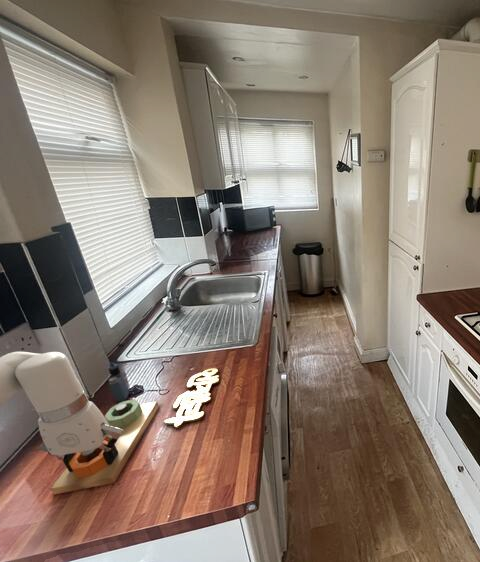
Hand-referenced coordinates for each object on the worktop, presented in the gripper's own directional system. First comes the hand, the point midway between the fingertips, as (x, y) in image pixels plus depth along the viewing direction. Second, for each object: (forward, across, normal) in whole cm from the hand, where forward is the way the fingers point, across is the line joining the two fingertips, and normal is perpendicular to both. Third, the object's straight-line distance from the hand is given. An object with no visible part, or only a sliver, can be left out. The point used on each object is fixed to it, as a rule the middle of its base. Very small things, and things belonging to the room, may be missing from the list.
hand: (94, 462), depth 73 cm
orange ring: (0, 0, 0) cm, 0 cm away
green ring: (0, 0, +14) cm, 14 cm away
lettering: (+2, +16, +21) cm, 26 cm away
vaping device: (+2, -7, +26) cm, 27 cm away
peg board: (+2, 0, +7) cm, 7 cm away
